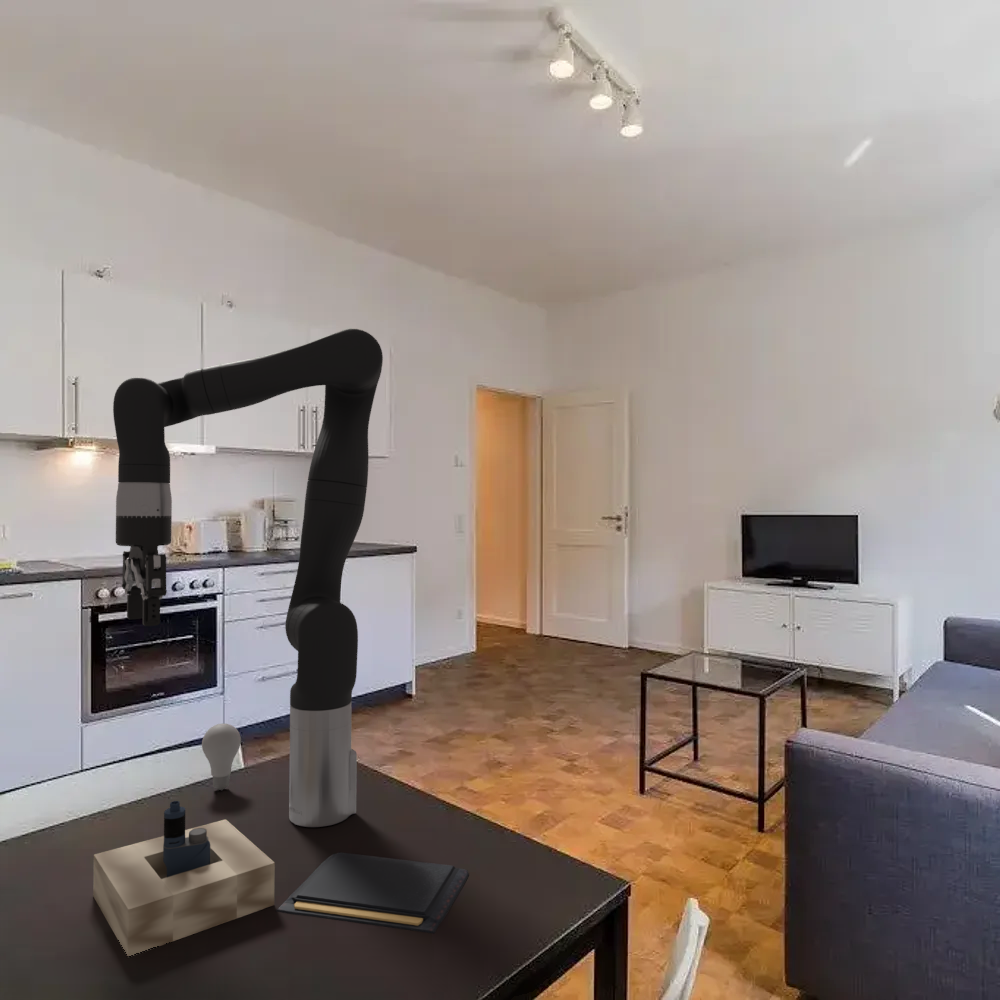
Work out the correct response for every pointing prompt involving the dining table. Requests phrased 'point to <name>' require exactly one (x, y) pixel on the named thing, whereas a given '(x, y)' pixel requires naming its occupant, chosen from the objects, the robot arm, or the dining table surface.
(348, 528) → the robot arm
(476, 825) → the dining table surface
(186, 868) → the vaping device
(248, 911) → the holder block
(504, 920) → the dining table surface
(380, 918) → the black book
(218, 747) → the lightbulb
